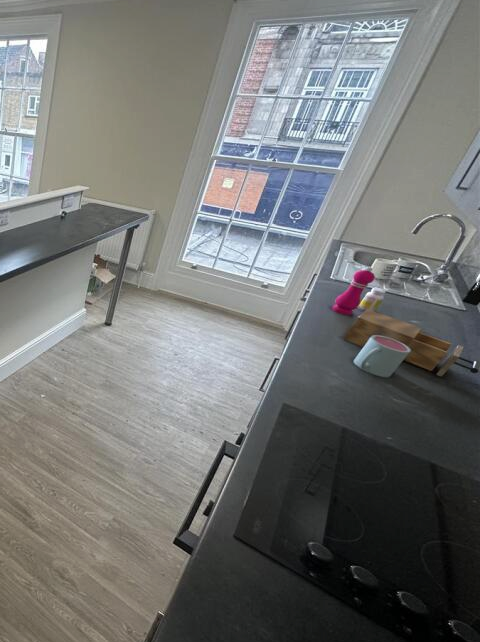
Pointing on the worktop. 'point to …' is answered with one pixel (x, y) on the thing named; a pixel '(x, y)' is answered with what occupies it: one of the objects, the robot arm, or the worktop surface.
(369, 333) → the cabinet
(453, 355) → the drawer
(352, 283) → the pepper mill
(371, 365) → the mug
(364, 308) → the supplement bottle
